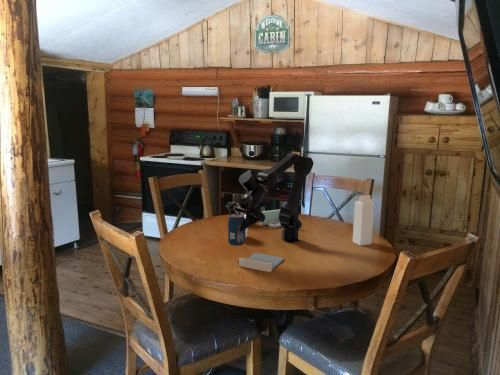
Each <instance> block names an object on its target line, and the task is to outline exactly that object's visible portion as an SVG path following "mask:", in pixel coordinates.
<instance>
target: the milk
mask: <svg viewBox="0 0 500 375" xmlns="http://www.w3.org/2000/svg"><path fill="white" fill-rule="evenodd" d="M353 210H354V212H353V228H352V243H354V244H357V245H358V246H361V245H362V246H368V245H372V241H373V240H372V239H373V228H374V227H373V225H374V210H375V203H374V200H372V199H371V195H370V194H368V195H360V196H359V197H358V199H357V200H355V201H354V209H353Z"/></svg>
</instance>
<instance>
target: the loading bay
mask: <svg viewBox="0 0 500 375" xmlns="http://www.w3.org/2000/svg"><path fill="white" fill-rule="evenodd" d="M284 260H285V257H283V256H282V257H281V256H275V255H270V254H263V253H258V252H254V253H253V254H251V255H250V256H248V257H247V258H246V257H242V256H241V257H239V258H238V266H239V267H242V268H247V269H252V270H256V271H257V270H258V271H261V272H267V273H271V272H272V271H274V270H275V269H276V268H277V267H279V265H280V264H281V263H283V261H284Z"/></svg>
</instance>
